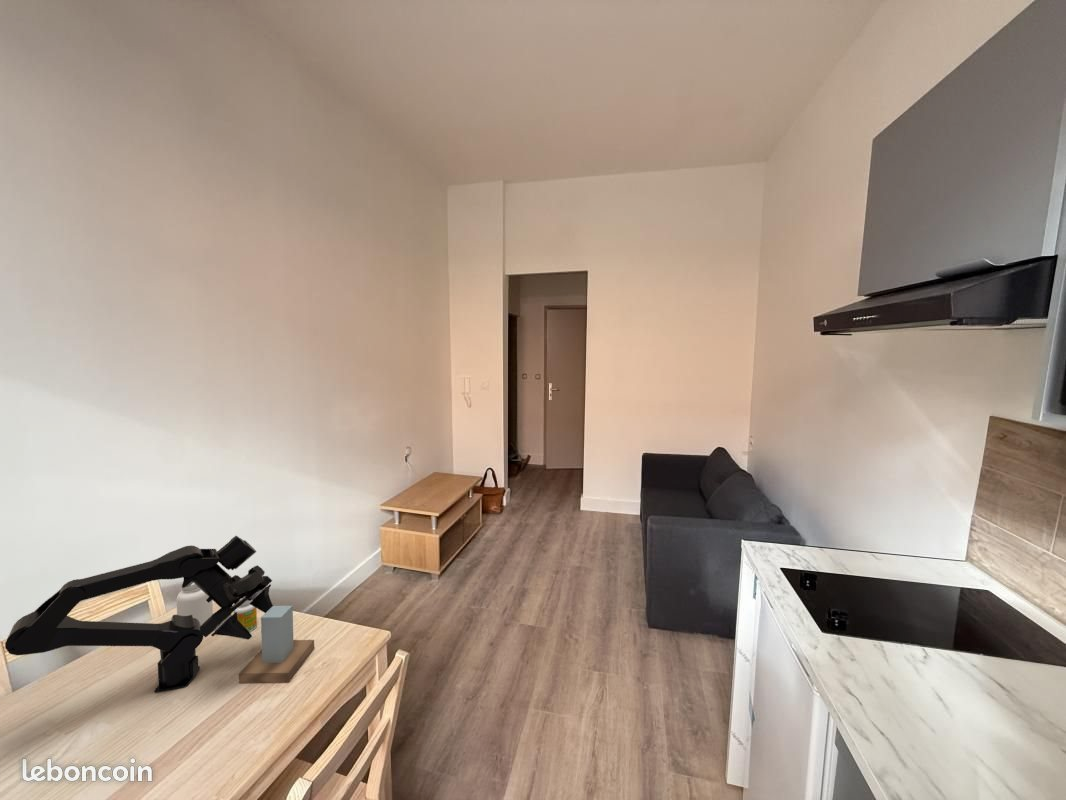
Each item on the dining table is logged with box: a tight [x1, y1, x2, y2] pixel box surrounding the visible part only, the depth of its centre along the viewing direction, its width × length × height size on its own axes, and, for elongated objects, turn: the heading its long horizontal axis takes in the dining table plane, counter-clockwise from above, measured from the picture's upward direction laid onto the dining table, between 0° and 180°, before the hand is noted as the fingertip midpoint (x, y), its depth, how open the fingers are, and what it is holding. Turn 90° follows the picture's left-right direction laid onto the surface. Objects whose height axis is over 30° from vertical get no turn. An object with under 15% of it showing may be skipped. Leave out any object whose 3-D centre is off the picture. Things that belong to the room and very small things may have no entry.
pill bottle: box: [176, 582, 214, 625], centre depth 115 cm, size 8×8×15 cm
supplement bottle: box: [233, 599, 258, 633], centre depth 116 cm, size 5×5×10 cm
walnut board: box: [238, 639, 315, 684], centre depth 102 cm, size 12×12×2 cm
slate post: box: [260, 605, 294, 663], centre depth 101 cm, size 5×5×12 cm
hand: (263, 625), depth 101 cm, fingers open, 9 cm apart
